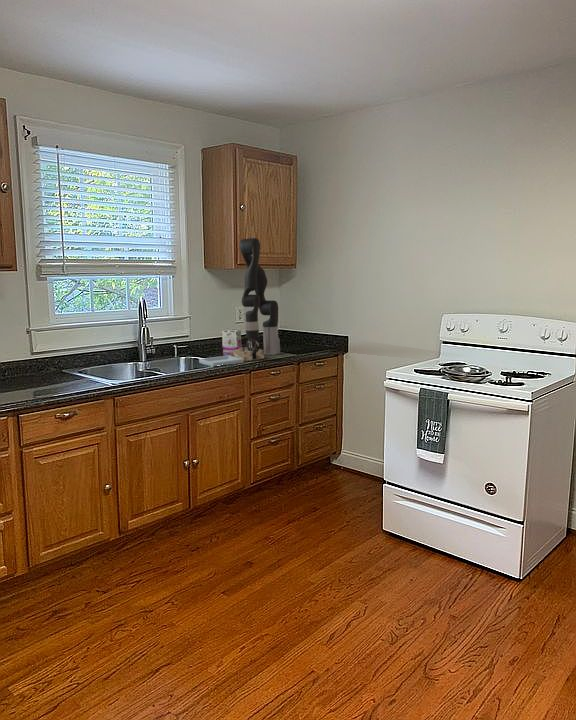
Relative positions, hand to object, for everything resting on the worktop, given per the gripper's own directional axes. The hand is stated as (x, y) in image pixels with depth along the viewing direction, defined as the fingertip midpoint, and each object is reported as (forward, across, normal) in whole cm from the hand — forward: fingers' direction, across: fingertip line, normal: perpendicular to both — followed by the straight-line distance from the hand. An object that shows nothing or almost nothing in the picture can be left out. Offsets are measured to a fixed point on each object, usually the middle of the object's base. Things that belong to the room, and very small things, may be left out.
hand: (253, 358), depth 354 cm
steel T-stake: (+1, +9, 0) cm, 9 cm away
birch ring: (+1, +6, 0) cm, 6 cm away
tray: (+1, +6, +18) cm, 19 cm away
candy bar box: (+2, +21, +3) cm, 21 cm away
